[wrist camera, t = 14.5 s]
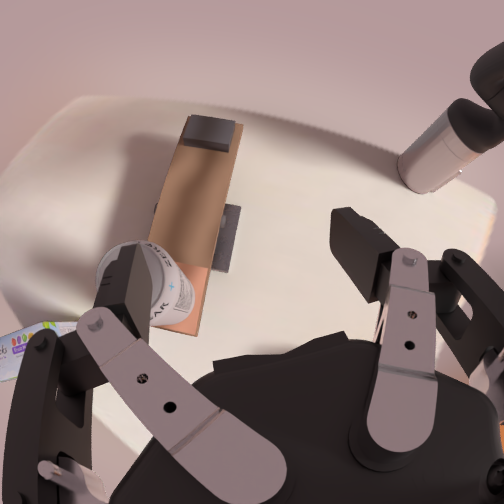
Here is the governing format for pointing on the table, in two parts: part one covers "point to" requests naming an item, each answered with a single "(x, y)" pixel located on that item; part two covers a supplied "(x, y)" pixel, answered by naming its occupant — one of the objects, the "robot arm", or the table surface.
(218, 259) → the seesaw stand
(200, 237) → the seesaw beam
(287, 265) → the table surface
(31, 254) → the table surface
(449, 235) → the table surface
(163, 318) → the energy drink can
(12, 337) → the snack box
